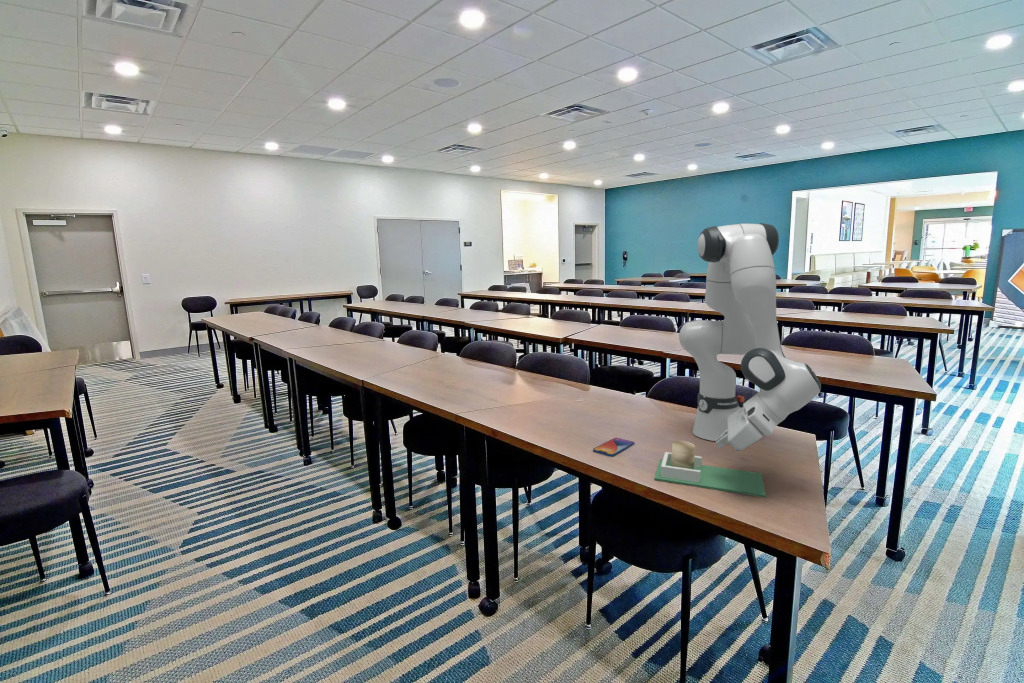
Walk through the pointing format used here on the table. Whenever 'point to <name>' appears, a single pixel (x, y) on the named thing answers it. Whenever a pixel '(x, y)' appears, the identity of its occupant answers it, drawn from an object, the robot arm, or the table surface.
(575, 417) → the table surface
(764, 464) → the table surface
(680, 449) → the maple canister
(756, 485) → the putting green
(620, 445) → the smartphone
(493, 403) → the table surface
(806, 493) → the table surface
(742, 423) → the robot arm
